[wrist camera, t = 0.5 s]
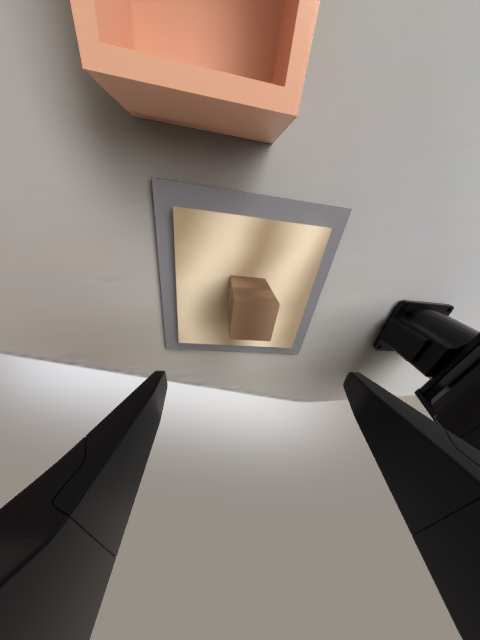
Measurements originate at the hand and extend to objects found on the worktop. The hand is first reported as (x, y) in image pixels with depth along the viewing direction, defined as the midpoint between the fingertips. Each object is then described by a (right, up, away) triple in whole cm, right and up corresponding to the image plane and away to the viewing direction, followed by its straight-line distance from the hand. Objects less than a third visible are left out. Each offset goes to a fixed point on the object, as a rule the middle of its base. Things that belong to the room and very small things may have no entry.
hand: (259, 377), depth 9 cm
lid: (-1, +6, +9) cm, 10 cm away
